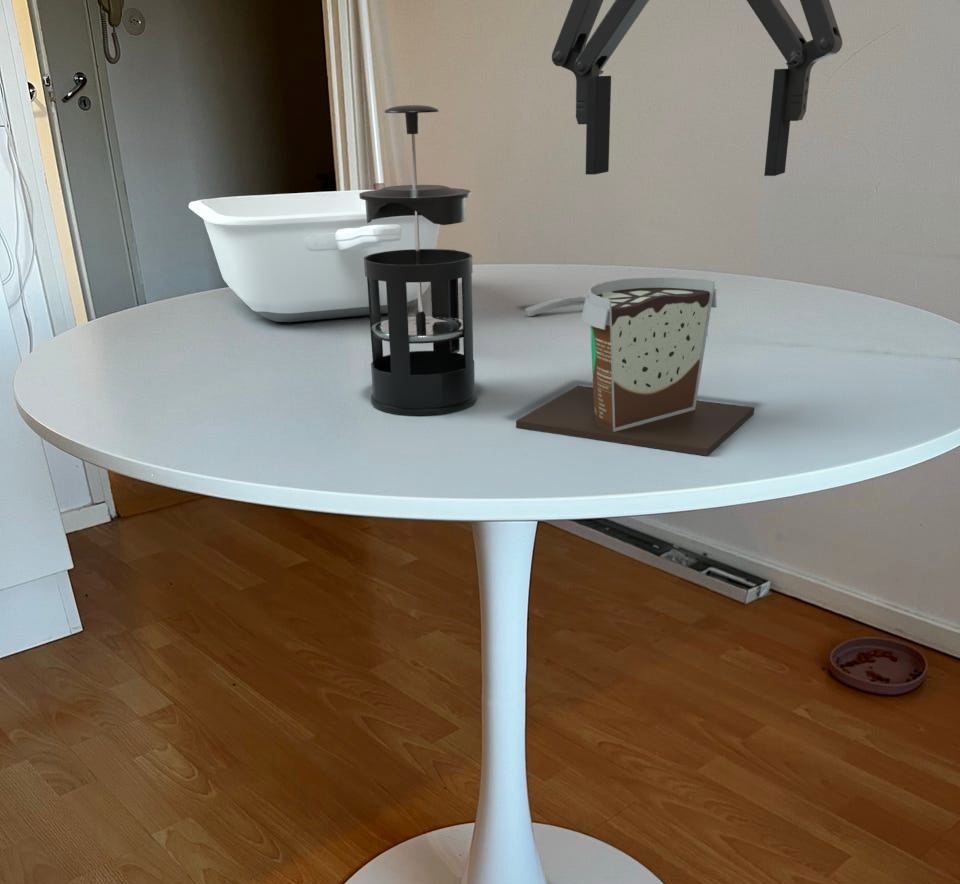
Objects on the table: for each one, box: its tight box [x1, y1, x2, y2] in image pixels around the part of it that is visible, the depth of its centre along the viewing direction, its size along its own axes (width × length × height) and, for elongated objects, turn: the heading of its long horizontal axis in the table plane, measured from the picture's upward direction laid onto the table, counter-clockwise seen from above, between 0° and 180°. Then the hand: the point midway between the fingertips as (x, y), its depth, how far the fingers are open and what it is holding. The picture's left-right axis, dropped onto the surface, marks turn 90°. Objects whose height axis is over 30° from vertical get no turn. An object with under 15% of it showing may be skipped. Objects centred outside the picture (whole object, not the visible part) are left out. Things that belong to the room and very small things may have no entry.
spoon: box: [524, 295, 587, 317], centre depth 122 cm, size 3×12×2 cm, turn 113°
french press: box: [359, 104, 478, 416], centre depth 83 cm, size 12×9×23 cm
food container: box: [581, 276, 718, 432], centre depth 80 cm, size 12×6×10 cm, turn 128°
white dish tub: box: [188, 189, 441, 323], centre depth 117 cm, size 28×44×13 cm, turn 21°
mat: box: [515, 385, 755, 457], centre depth 82 cm, size 16×12×1 cm
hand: (682, 174), depth 74 cm, fingers open, 13 cm apart
